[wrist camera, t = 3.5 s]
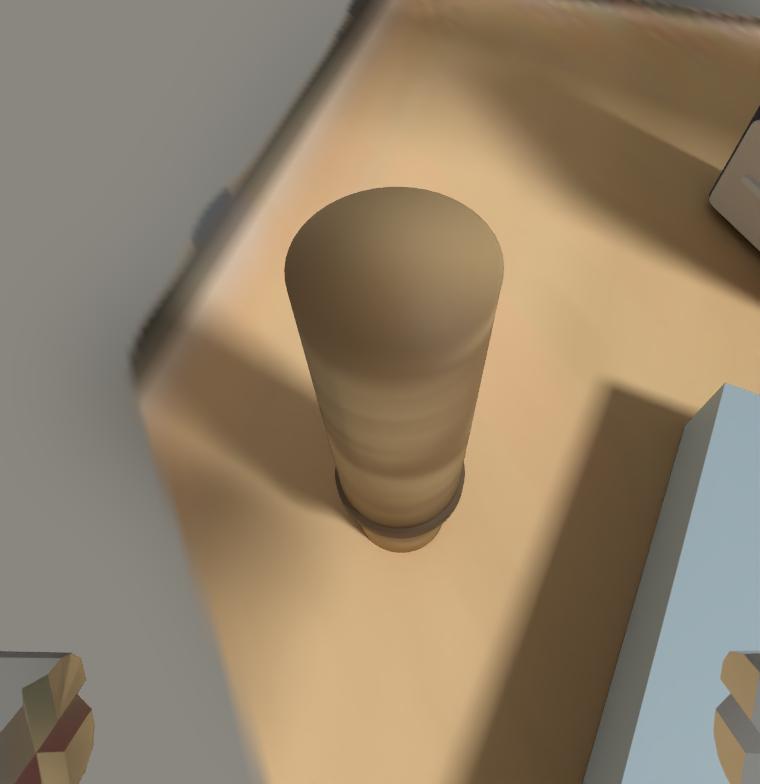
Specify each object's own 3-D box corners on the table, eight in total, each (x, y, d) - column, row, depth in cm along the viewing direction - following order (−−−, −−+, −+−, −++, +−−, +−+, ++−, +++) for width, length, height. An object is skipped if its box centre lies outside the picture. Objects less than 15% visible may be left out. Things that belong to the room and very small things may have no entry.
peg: (377, 442, 24) (347, 158, 12) (472, 486, 23) (545, 220, 11) (326, 533, 22) (230, 306, 10) (427, 585, 21) (454, 398, 9)
